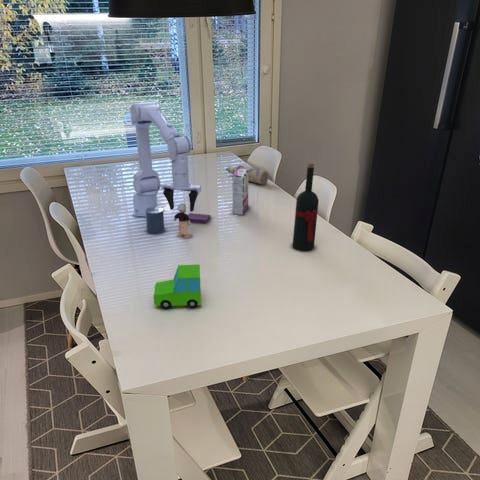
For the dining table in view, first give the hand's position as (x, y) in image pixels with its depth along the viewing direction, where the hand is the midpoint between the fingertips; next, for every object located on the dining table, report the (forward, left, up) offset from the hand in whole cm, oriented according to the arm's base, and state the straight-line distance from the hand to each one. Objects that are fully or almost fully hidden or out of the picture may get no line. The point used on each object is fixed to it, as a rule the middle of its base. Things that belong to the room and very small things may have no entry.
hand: (182, 209), depth 178 cm
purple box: (0, +18, -10) cm, 21 cm away
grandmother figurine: (0, 0, -10) cm, 10 cm away
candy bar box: (+15, +33, -10) cm, 38 cm away
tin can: (-12, +2, -10) cm, 16 cm away
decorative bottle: (+9, +79, -10) cm, 81 cm away
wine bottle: (+46, 0, -10) cm, 47 cm away
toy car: (+14, -48, -10) cm, 51 cm away
